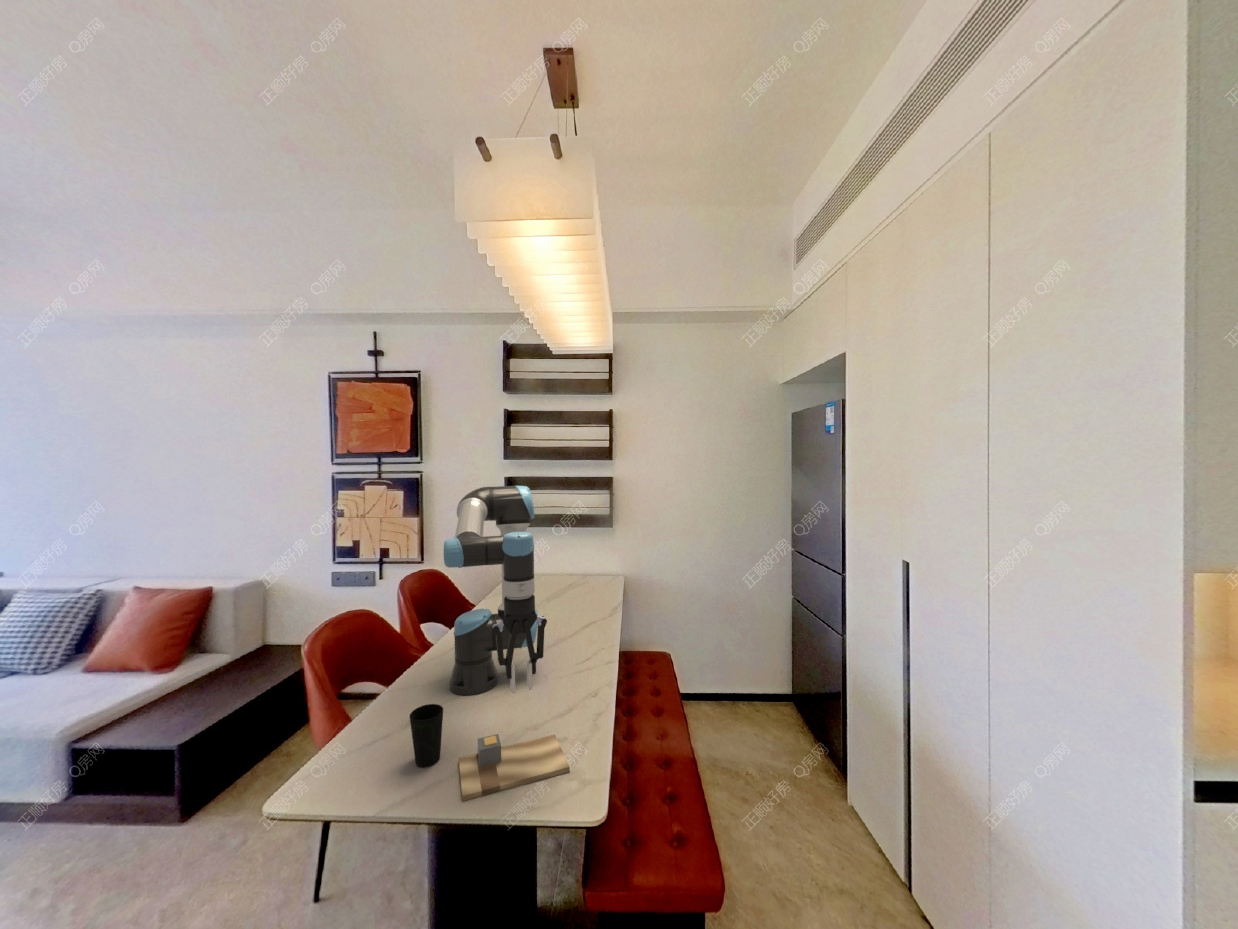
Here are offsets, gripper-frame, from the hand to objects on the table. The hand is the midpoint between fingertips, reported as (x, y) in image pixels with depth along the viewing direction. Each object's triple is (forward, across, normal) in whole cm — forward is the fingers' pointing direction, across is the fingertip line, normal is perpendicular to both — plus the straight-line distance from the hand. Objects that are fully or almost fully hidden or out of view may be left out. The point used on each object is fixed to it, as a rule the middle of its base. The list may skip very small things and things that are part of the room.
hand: (521, 688), depth 118 cm
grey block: (+15, -8, 0) cm, 17 cm away
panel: (+17, -3, -4) cm, 17 cm away
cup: (+17, -22, +7) cm, 29 cm away
